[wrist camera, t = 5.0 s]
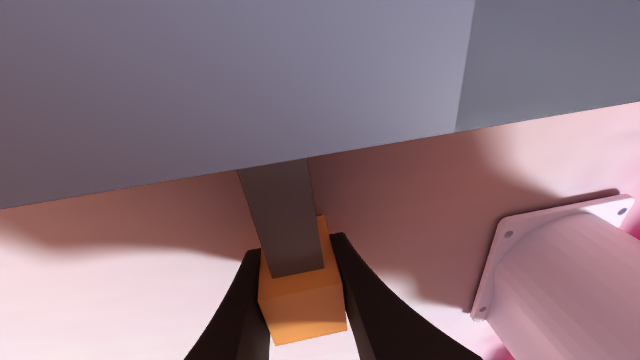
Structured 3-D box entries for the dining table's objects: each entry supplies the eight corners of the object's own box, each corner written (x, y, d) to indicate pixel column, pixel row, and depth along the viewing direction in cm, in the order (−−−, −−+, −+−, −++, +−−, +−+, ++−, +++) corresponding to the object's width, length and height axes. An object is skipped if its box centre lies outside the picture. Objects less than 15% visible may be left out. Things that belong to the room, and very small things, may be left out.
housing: (450, 58, 10) (666, 96, 4) (60, 116, 9) (-279, 255, 3) (469, -87, 8) (916, -351, 2) (-34, -33, 7) (-1229, -266, 1)
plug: (342, 255, 14) (364, 326, 11) (262, 271, 14) (258, 349, 11) (293, -215, 6) (317, -515, 3) (99, -201, 6) (-143, -517, 2)
